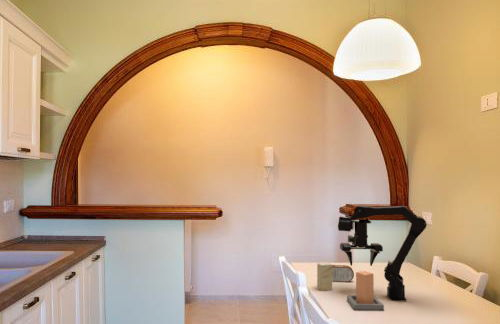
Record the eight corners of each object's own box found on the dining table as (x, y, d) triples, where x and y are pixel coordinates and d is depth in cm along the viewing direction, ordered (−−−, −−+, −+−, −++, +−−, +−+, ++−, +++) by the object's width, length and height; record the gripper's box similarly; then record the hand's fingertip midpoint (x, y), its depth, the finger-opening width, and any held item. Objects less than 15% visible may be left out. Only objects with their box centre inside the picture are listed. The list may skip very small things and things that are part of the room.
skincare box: (321, 291, 168) (320, 265, 168) (316, 288, 172) (316, 263, 173) (332, 290, 170) (332, 264, 170) (328, 287, 174) (328, 262, 174)
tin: (353, 281, 185) (353, 265, 185) (354, 283, 181) (354, 266, 182) (324, 280, 186) (324, 264, 186) (325, 282, 183) (324, 265, 183)
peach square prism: (364, 301, 153) (364, 270, 153) (373, 304, 148) (373, 273, 149) (356, 302, 151) (356, 272, 151) (364, 306, 146) (364, 275, 147)
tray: (374, 300, 156) (374, 295, 156) (383, 310, 144) (383, 305, 144) (346, 300, 156) (346, 294, 156) (354, 310, 144) (354, 304, 144)
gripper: (375, 229, 174) (375, 261, 173) (337, 229, 174) (337, 261, 173) (383, 233, 163) (383, 267, 162) (342, 233, 163) (342, 267, 162)
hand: (361, 265), depth 165 cm, fingers open, 9 cm apart
